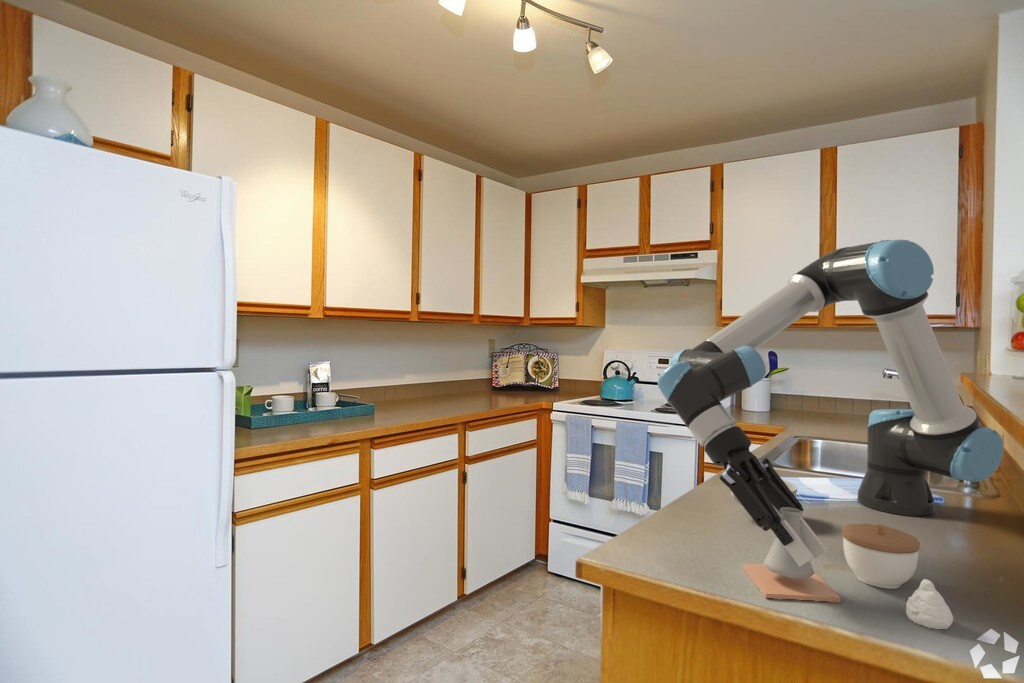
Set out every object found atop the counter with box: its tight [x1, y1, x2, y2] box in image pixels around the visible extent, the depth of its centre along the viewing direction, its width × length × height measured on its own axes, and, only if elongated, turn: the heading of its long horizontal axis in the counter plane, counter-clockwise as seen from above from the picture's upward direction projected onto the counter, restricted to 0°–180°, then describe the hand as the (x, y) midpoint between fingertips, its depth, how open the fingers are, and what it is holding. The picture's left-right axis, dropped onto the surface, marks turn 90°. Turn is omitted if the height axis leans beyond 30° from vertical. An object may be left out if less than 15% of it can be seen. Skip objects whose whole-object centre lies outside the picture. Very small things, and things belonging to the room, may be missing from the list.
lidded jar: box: [841, 523, 921, 590], centre depth 94 cm, size 11×11×9 cm
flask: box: [762, 507, 815, 578], centre depth 92 cm, size 7×7×10 cm
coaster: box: [742, 563, 841, 603], centre depth 92 cm, size 11×11×1 cm
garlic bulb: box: [905, 578, 954, 630], centre depth 81 cm, size 6×6×5 cm
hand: (813, 558), depth 89 cm, fingers closed on flask, 4 cm apart
